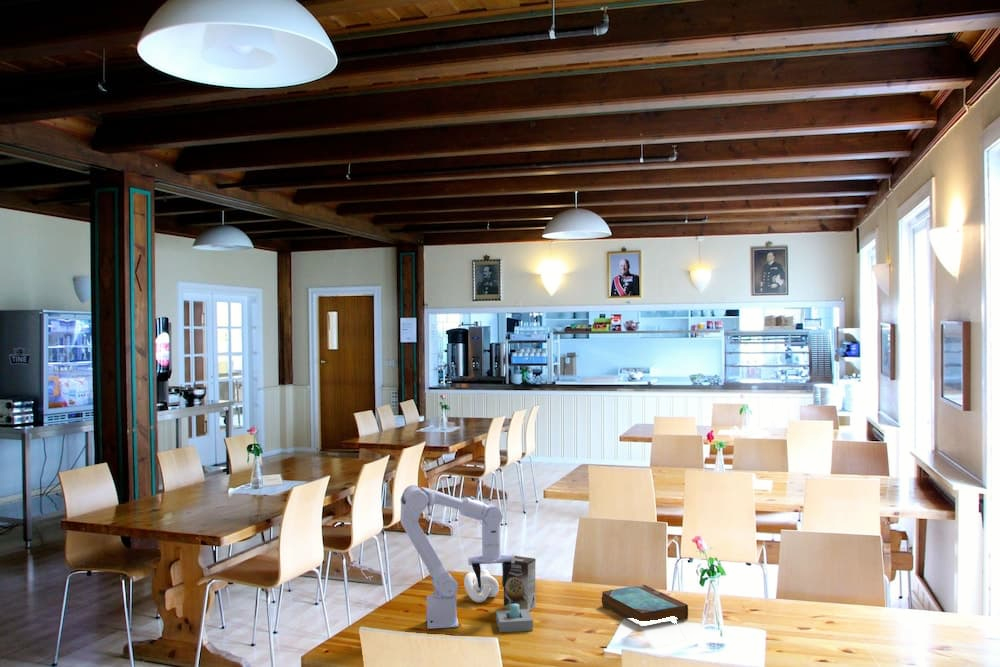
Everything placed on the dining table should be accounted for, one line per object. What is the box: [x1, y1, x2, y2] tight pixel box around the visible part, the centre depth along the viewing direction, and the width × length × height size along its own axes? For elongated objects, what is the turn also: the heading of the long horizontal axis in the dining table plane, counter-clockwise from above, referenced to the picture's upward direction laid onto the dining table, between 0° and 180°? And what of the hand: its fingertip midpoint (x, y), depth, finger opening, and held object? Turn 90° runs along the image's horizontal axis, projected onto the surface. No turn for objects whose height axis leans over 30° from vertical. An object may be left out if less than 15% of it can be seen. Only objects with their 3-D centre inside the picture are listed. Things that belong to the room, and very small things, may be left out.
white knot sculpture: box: [463, 568, 500, 603], centre depth 266 cm, size 11×12×9 cm
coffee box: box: [503, 554, 537, 612], centre depth 256 cm, size 9×6×16 cm
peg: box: [509, 604, 520, 618], centre depth 240 cm, size 3×3×6 cm
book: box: [601, 584, 689, 621], centre depth 250 cm, size 23×18×5 cm
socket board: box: [495, 609, 534, 633], centre depth 240 cm, size 10×10×3 cm
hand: (491, 586), depth 247 cm, fingers open, 7 cm apart
